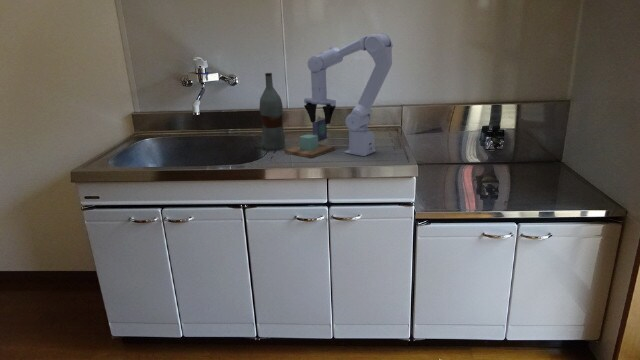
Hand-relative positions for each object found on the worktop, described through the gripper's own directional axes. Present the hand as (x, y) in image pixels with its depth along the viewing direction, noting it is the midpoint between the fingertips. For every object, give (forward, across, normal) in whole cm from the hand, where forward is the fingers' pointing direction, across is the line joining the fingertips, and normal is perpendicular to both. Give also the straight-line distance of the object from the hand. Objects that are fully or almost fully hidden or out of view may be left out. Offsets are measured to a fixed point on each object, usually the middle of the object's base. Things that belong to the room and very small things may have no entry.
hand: (320, 122), depth 174 cm
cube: (+9, -1, -6) cm, 11 cm away
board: (+10, -1, -6) cm, 12 cm away
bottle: (+11, -18, -9) cm, 23 cm away
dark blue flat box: (+11, -10, +11) cm, 18 cm away
